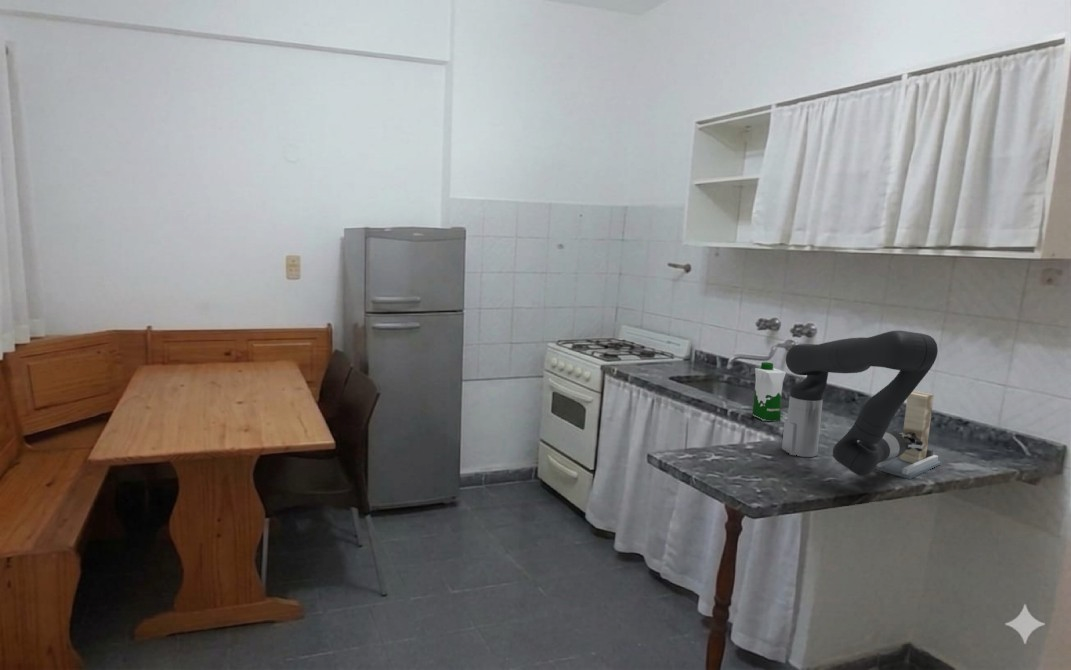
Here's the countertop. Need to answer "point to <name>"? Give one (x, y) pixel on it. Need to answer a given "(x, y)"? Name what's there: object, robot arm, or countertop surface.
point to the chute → (909, 466)
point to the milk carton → (768, 392)
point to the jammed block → (917, 423)
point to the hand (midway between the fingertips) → (912, 436)
